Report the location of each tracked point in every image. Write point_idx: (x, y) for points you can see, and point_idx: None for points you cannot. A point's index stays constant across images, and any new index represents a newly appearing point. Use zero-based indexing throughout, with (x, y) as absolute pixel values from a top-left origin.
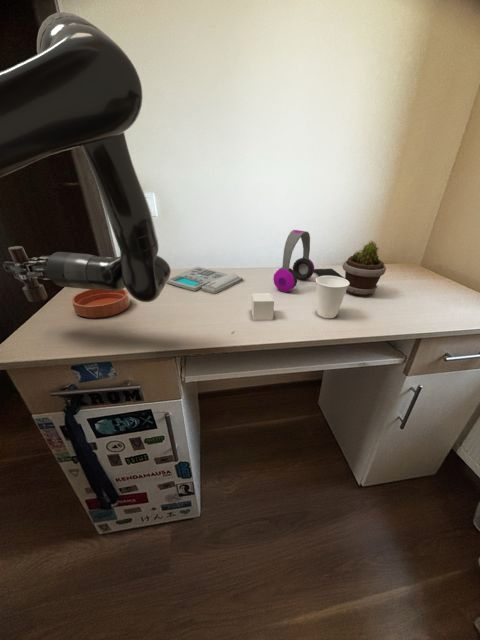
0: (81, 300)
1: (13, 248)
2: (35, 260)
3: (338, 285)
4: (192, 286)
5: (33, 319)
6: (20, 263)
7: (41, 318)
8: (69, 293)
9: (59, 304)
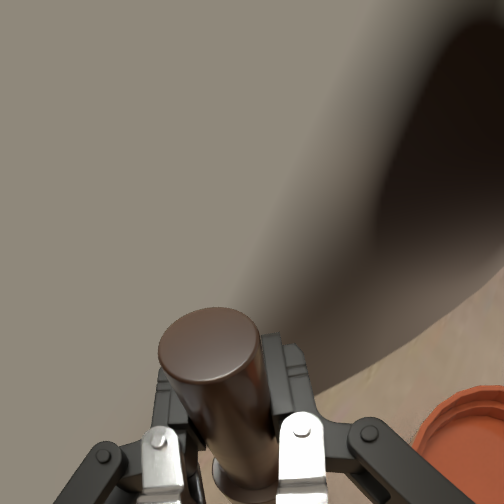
0: (451, 417)
1: (173, 354)
2: (279, 465)
3: None
4: None
5: (320, 393)
6: (163, 454)
7: (334, 404)
8: (459, 323)
9: (412, 363)
